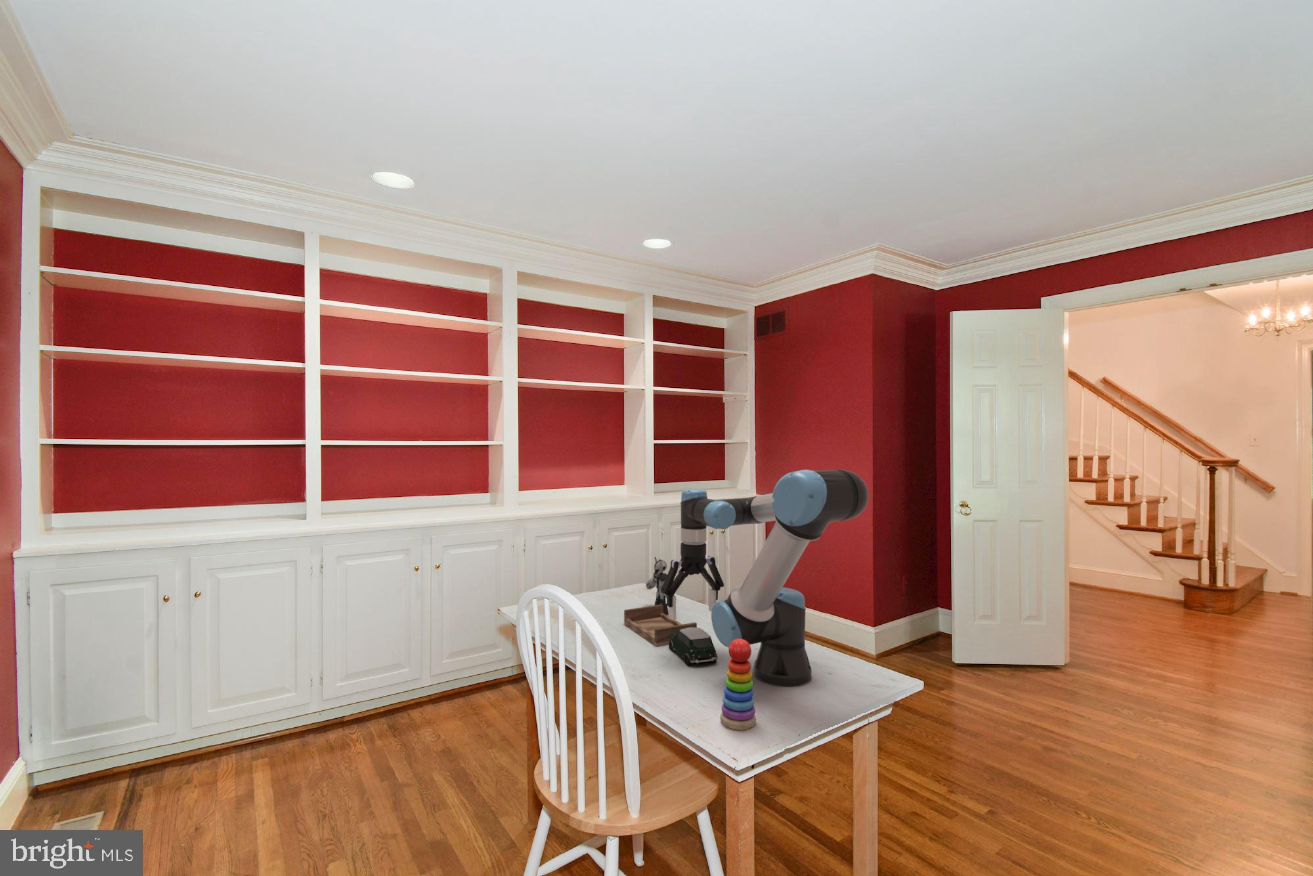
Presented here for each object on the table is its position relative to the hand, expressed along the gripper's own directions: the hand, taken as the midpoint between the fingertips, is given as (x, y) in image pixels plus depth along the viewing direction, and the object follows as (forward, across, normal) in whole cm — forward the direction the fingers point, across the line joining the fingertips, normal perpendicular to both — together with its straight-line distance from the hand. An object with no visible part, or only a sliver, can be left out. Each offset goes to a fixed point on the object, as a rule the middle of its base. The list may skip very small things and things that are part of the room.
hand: (692, 614), depth 172 cm
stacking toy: (+12, +12, +40) cm, 43 cm away
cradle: (+12, -1, -22) cm, 26 cm away
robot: (+13, -11, -40) cm, 44 cm away
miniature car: (+12, 0, 0) cm, 12 cm away
